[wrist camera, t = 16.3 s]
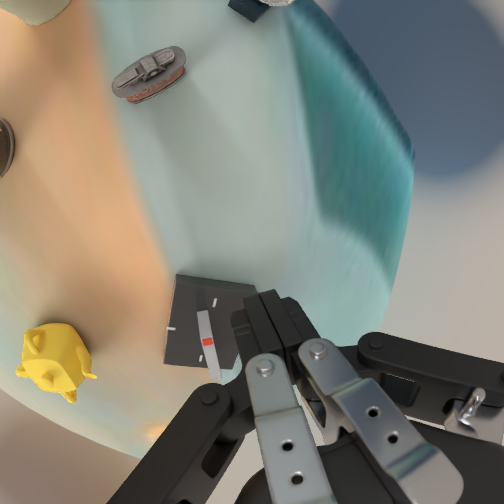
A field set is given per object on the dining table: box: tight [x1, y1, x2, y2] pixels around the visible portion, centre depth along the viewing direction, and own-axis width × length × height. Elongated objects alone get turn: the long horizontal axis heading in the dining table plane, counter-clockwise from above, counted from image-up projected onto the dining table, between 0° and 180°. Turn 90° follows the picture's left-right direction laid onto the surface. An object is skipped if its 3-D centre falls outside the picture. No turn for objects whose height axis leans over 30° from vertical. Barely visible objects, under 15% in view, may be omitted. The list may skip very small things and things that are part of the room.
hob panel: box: [163, 274, 258, 369], centre depth 44 cm, size 16×13×3 cm
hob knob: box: [197, 310, 222, 379], centre depth 40 cm, size 8×2×6 cm, turn 5°
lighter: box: [112, 46, 186, 104], centre depth 25 cm, size 8×3×10 cm, turn 116°
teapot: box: [16, 323, 97, 403], centre depth 36 cm, size 14×13×10 cm
